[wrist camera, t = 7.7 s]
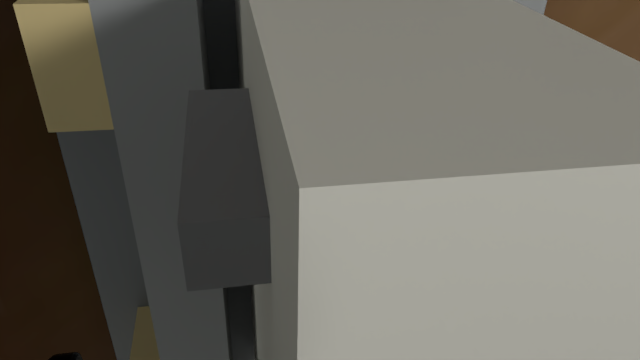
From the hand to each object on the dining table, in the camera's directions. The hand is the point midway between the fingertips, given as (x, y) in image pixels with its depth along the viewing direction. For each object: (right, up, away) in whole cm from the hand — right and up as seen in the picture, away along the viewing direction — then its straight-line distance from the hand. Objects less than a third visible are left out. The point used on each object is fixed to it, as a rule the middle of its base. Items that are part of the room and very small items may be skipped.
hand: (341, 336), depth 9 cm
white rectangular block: (-1, +3, +4) cm, 5 cm away
